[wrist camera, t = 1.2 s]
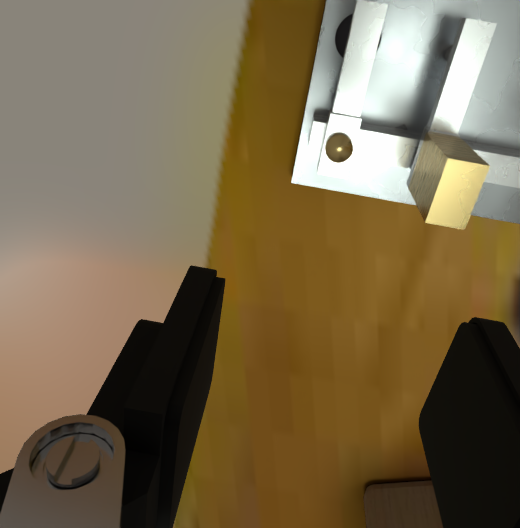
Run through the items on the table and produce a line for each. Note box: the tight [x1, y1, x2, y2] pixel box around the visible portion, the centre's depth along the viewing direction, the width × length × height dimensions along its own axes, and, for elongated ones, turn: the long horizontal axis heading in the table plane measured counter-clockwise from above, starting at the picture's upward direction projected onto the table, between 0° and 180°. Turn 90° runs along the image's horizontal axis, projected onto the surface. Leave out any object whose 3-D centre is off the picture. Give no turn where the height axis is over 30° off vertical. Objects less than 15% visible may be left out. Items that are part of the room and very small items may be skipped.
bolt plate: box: [291, 0, 520, 224], centre depth 25 cm, size 12×18×5 cm, turn 81°
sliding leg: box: [406, 18, 497, 230], centre depth 23 cm, size 8×2×8 cm, turn 171°
